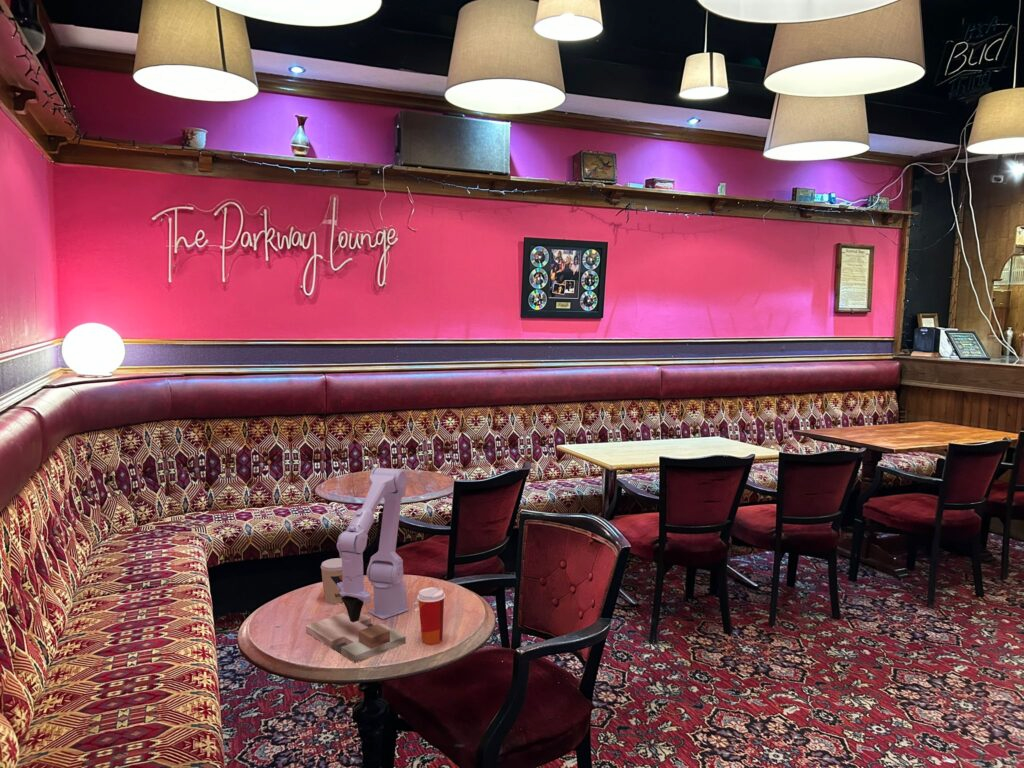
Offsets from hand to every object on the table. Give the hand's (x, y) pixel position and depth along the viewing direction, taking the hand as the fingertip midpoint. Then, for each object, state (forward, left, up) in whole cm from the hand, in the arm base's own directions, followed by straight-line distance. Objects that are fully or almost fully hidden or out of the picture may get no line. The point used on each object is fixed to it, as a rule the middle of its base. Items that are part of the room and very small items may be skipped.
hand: (354, 620), depth 203 cm
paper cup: (-14, +17, -5) cm, 23 cm away
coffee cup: (-11, -28, -5) cm, 30 cm away
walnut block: (0, +10, -3) cm, 10 cm away
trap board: (0, 0, -5) cm, 5 cm away
